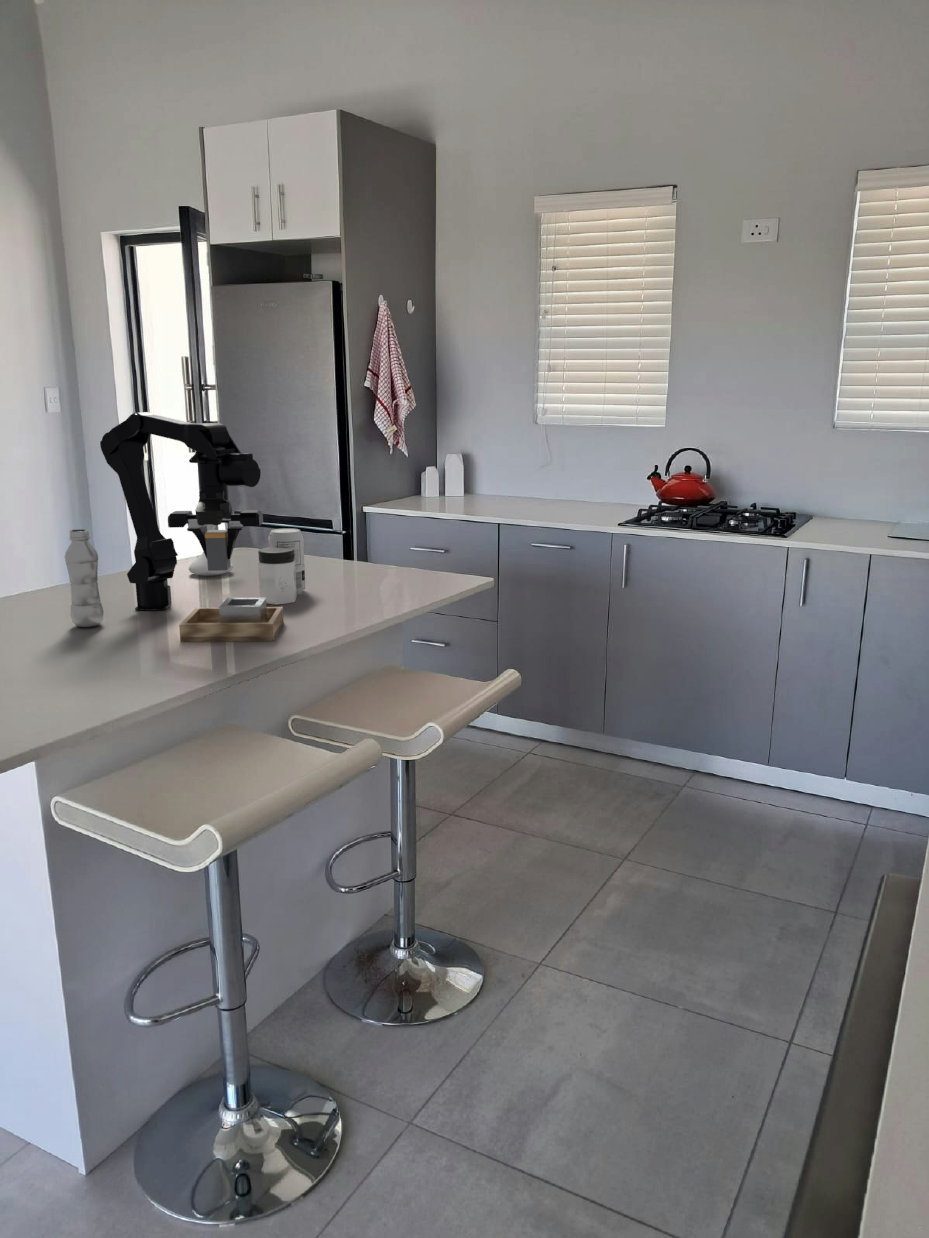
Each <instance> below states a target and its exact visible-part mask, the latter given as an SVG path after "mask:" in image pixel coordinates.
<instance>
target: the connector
mask: <svg viewBox="0 0 929 1238" xmlns="http://www.w3.org/2000/svg"><path fill="white" fill-rule="evenodd" d="M205 538H206V550H207V564H208V571H220V570H228V569H229V568H230V567H231V564H232V563H231V559H228V555H227V546H228V532H227V529H215V530H209V531H207V532H206V533H205Z"/></svg>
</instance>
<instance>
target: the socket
mask: <svg viewBox="0 0 929 1238" xmlns="http://www.w3.org/2000/svg"><path fill="white" fill-rule="evenodd" d="M267 607H268V605H267V602H266V598H260V597H226V599H224V601H222V603H221V604H220V605H219V613H220V623H267Z"/></svg>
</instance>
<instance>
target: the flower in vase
mask: <svg viewBox="0 0 929 1238" xmlns="http://www.w3.org/2000/svg"><path fill="white" fill-rule="evenodd" d="M216 527H217V525H207V531H209V530H216ZM233 569H234V565H233V564H232V563H231V567H230V568H229V569H228V570H220V571H208V564H207V558H206V556H205V554H204V551H202V553H201V554H200V555H199V556H198V557H197V558H195V559H194V560H193V561H192V562H191V563H190V564H189V567H188V571H189V572H190V573H191V574H194V575H197V576H206V577H207V576H208V577H209V576H219V575H224V574H229V572H231V571H233Z"/></svg>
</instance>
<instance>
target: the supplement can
mask: <svg viewBox="0 0 929 1238" xmlns="http://www.w3.org/2000/svg"><path fill="white" fill-rule="evenodd" d="M267 540H268V541H267V542H268V547H289V548H293V549H294V554H295V568H296V592H297V595H299V594H302V593H303V592H304V591H306V571H305V570H306V569H305V567H306V566H305V546H304V544H305V542H304V541H305V540H304V536H303V533H302V532H301V529H300V528H299V529H298V528H290V527H288V528H284V527H283V528H275V529H272V530H270V532H269V534H268V537H267Z"/></svg>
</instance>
